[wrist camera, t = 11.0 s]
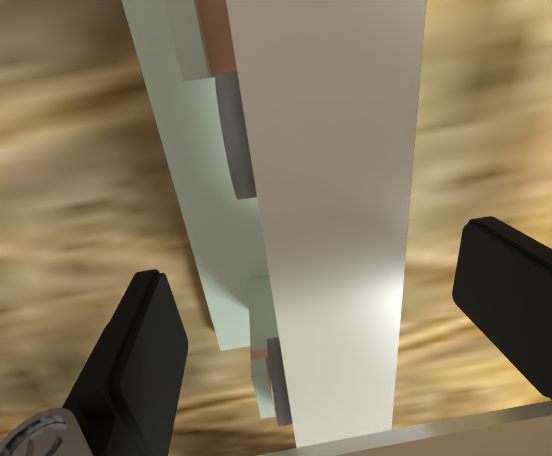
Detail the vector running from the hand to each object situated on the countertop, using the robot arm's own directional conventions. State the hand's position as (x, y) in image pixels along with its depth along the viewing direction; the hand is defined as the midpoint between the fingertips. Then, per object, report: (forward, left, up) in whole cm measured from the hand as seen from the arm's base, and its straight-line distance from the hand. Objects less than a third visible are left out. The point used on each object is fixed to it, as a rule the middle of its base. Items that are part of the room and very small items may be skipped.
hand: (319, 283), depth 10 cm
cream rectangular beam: (0, 0, -3) cm, 3 cm away
